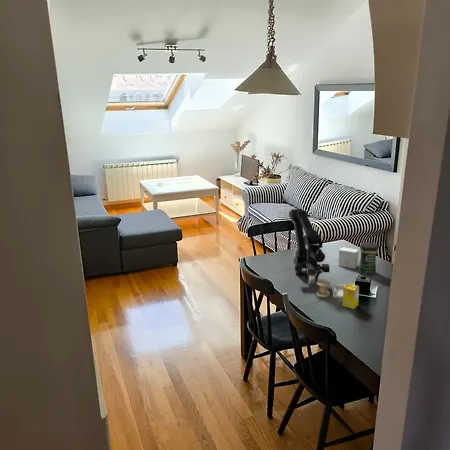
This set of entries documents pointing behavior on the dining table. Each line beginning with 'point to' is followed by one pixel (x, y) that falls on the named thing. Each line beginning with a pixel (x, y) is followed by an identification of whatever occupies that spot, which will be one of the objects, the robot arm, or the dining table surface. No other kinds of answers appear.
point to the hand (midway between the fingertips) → (311, 281)
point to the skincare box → (348, 257)
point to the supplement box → (350, 296)
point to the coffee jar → (368, 258)
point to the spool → (323, 288)
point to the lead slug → (311, 279)
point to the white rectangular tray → (338, 290)
